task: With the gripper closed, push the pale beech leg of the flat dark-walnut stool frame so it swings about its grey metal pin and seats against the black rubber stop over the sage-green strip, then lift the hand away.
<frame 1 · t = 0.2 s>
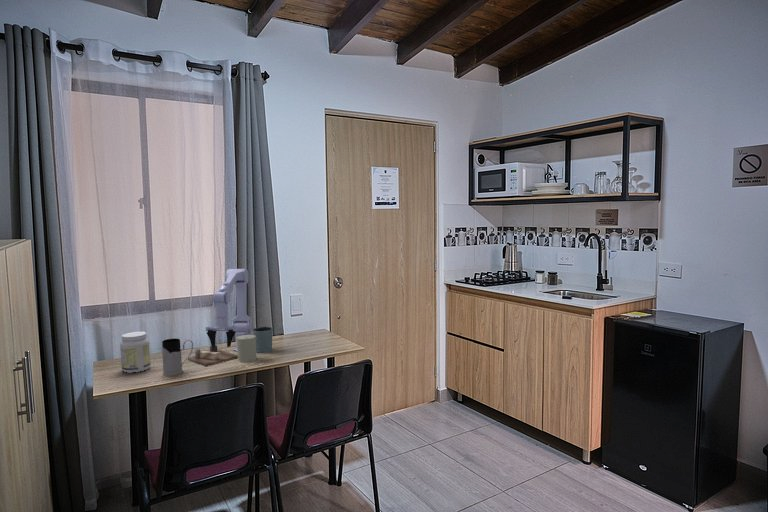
hand: (221, 346, 229), 10 cm above the table, tool pointing down, fingers open, 7 cm apart
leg: (209, 355, 242), point 3 cm above the table, hinge at -70.0°
supplement tub: (136, 369, 231), on the table
teal cylindrical container: (263, 351, 257), on the table
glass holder: (178, 371, 227), on the table
can: (247, 360, 243), on the table
frame board: (213, 358, 245), on the table
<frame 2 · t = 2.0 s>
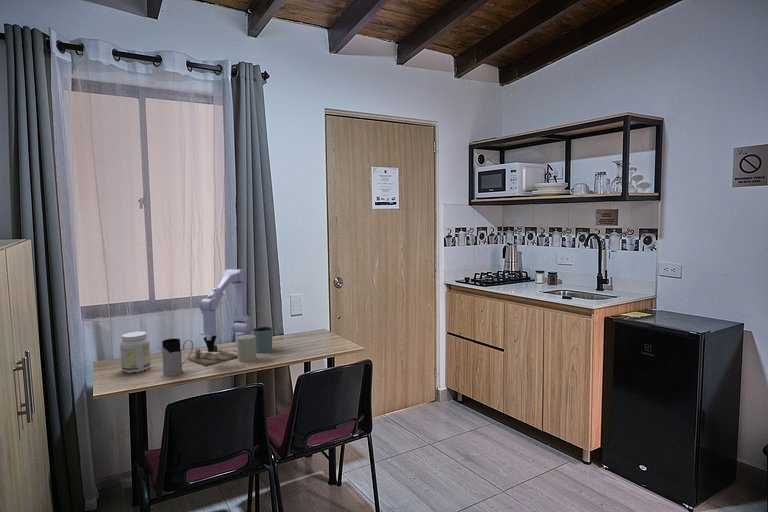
hand: (210, 351, 234), 7 cm above the table, tool pointing down, fingers closed
nothing on the table moved.
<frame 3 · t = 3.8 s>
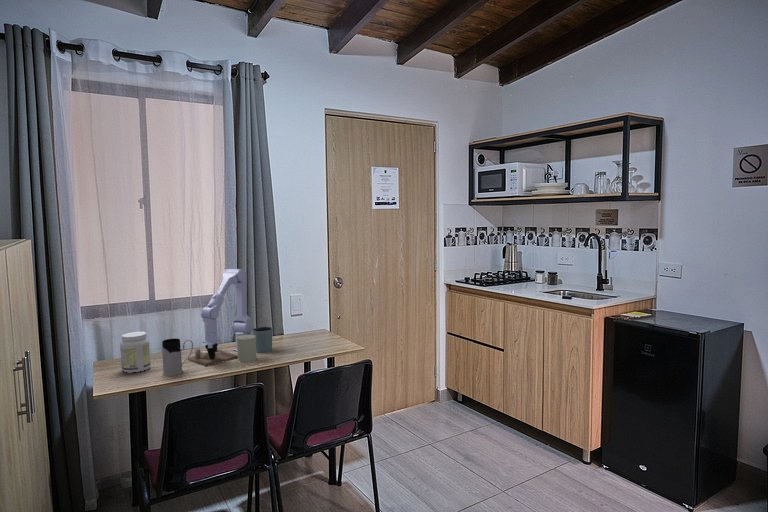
hand: (212, 359, 238), 2 cm above the table, tool pointing down, fingers closed, pressing on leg
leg: (209, 355, 242), point 3 cm above the table, hinge at -68.8°, touching gripper
everything else where it was.
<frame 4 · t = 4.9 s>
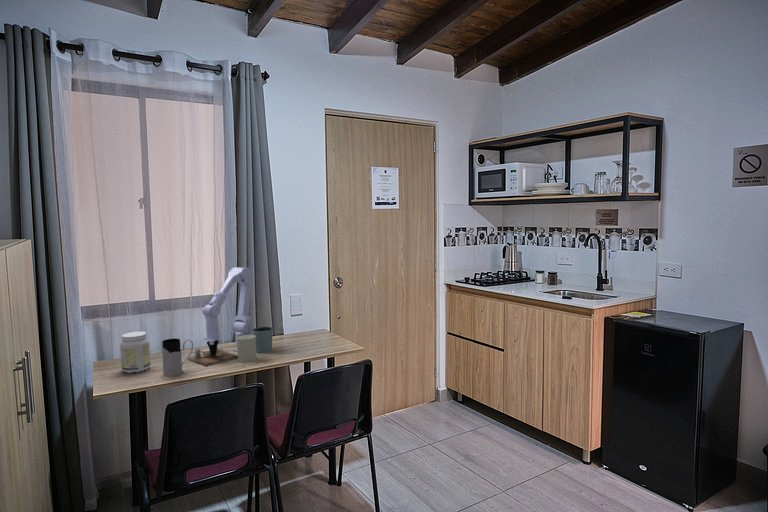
hand: (213, 355, 245), 2 cm above the table, tool pointing down, fingers closed, pressing on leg
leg: (213, 352, 246), point 3 cm above the table, hinge at -34.7°, touching gripper
everything else where it was.
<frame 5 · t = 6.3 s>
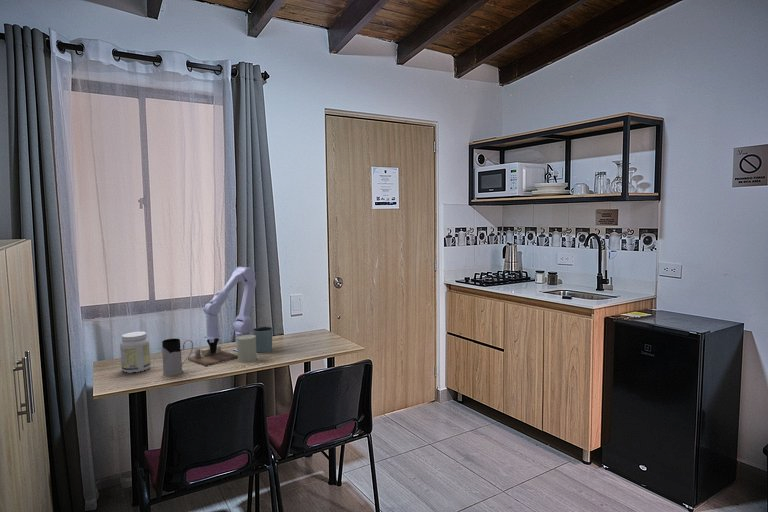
hand: (213, 353, 248), 2 cm above the table, tool pointing down, fingers closed, pressing on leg
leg: (211, 350, 250), point 3 cm above the table, hinge at 0.4°, touching gripper
everything else where it was.
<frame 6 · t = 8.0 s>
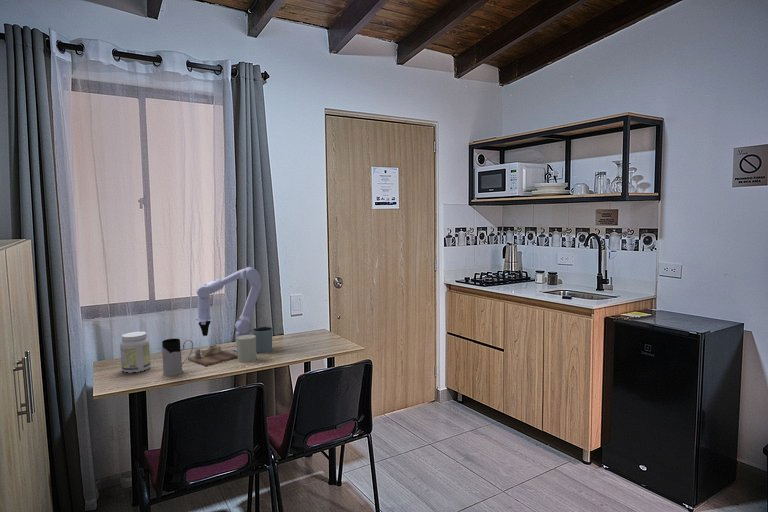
hand: (205, 335, 252), 10 cm above the table, tool pointing down, fingers closed
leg: (211, 350, 250), point 3 cm above the table, hinge at 0.4°
everything else where it was.
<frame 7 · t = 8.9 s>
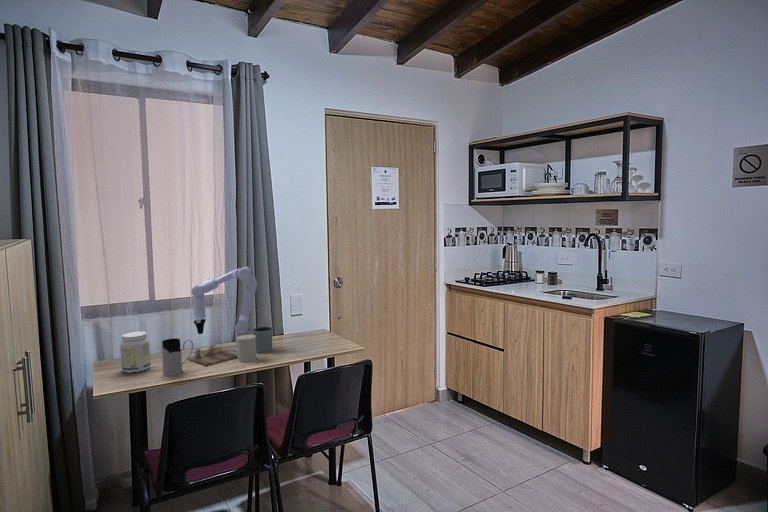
hand: (200, 333, 257), 10 cm above the table, tool pointing down, fingers closed
nothing on the table moved.
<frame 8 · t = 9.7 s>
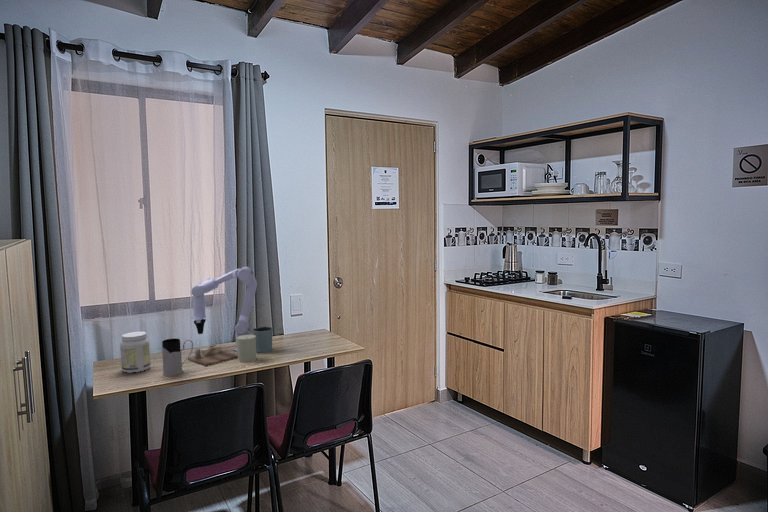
hand: (200, 333, 257), 10 cm above the table, tool pointing down, fingers closed
nothing on the table moved.
at the end: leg at +0° (first picture: -70°) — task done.
